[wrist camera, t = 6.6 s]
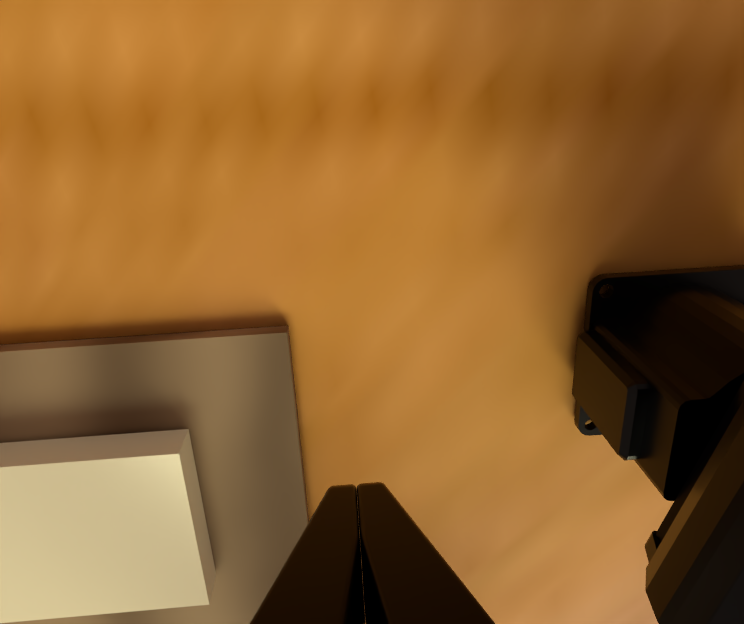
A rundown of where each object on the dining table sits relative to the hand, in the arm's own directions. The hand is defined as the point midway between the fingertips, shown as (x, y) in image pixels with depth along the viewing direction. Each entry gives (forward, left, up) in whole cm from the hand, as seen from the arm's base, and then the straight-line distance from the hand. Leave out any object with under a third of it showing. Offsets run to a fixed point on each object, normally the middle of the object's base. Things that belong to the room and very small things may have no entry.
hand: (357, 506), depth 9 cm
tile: (+6, +9, -10) cm, 15 cm away
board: (+9, +9, -12) cm, 17 cm away
